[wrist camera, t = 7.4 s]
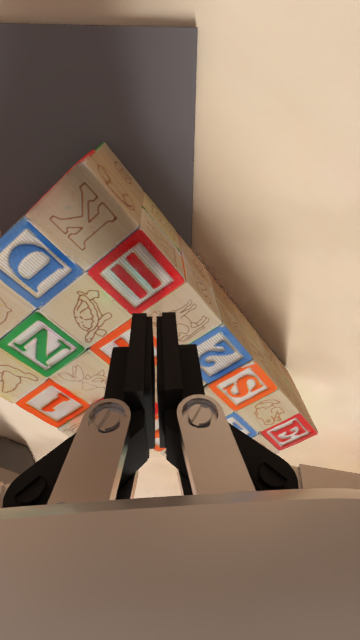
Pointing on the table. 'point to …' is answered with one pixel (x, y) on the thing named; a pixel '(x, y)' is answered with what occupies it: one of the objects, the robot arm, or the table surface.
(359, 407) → the table surface
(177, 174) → the mat
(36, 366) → the stack of blocks
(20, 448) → the liquor
